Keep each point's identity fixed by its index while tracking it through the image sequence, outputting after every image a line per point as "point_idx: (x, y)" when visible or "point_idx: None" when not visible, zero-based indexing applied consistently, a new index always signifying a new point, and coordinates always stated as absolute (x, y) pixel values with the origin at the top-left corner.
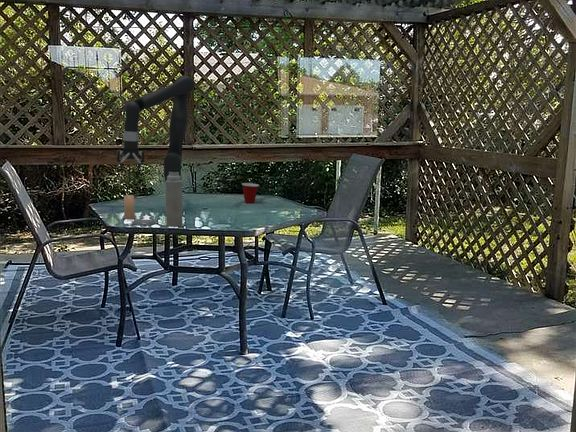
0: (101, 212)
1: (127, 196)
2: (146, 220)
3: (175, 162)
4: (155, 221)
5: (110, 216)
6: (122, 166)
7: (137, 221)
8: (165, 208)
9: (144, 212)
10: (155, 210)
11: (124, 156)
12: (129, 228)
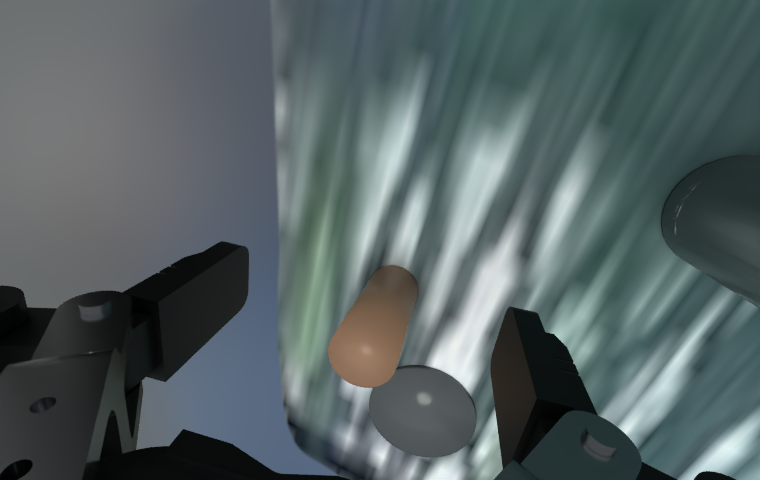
0: (293, 39)
1: (345, 375)
2: (440, 396)
3: None
4: (470, 434)
5: (318, 193)
6: (203, 336)
7: (396, 396)
8: (677, 219)
9: (537, 141)
10: (649, 87)
11: (20, 444)
12: (338, 466)
